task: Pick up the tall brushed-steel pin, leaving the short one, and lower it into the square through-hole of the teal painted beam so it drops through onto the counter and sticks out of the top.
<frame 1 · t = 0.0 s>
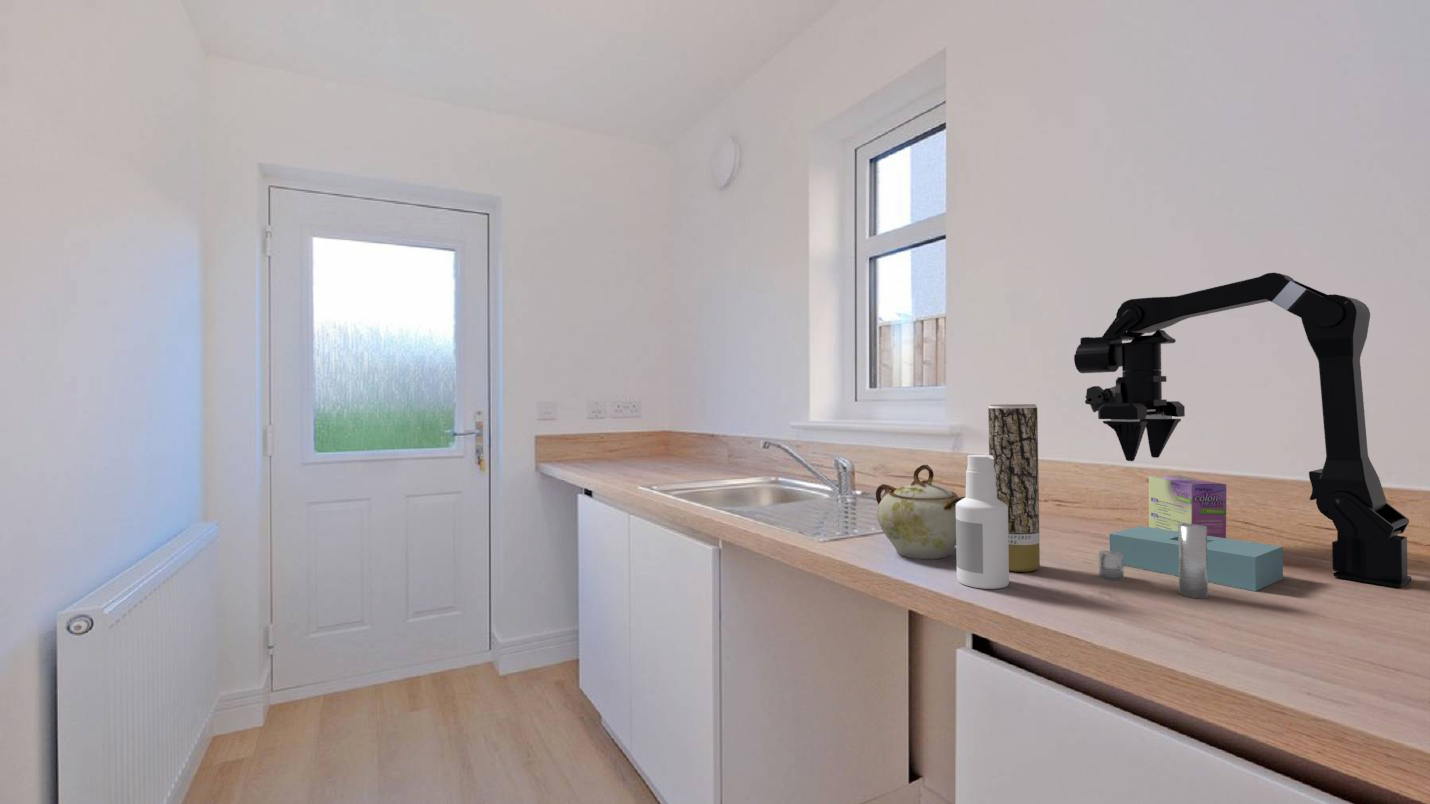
hand: (1142, 459, 111), 15 cm above the worktop, tool pointing down, fingers open, 9 cm apart
spray bottle: (982, 584, 89), on the worktop
short steel pin: (1111, 577, 90), on the worktop
sugar bowl: (923, 554, 106), on the worktop
hole beam: (1191, 570, 93), on the worktop
tall steel pin: (1193, 594, 82), on the worktop
box: (1186, 550, 105), on the worktop
paper tube: (1015, 568, 96), on the worktop
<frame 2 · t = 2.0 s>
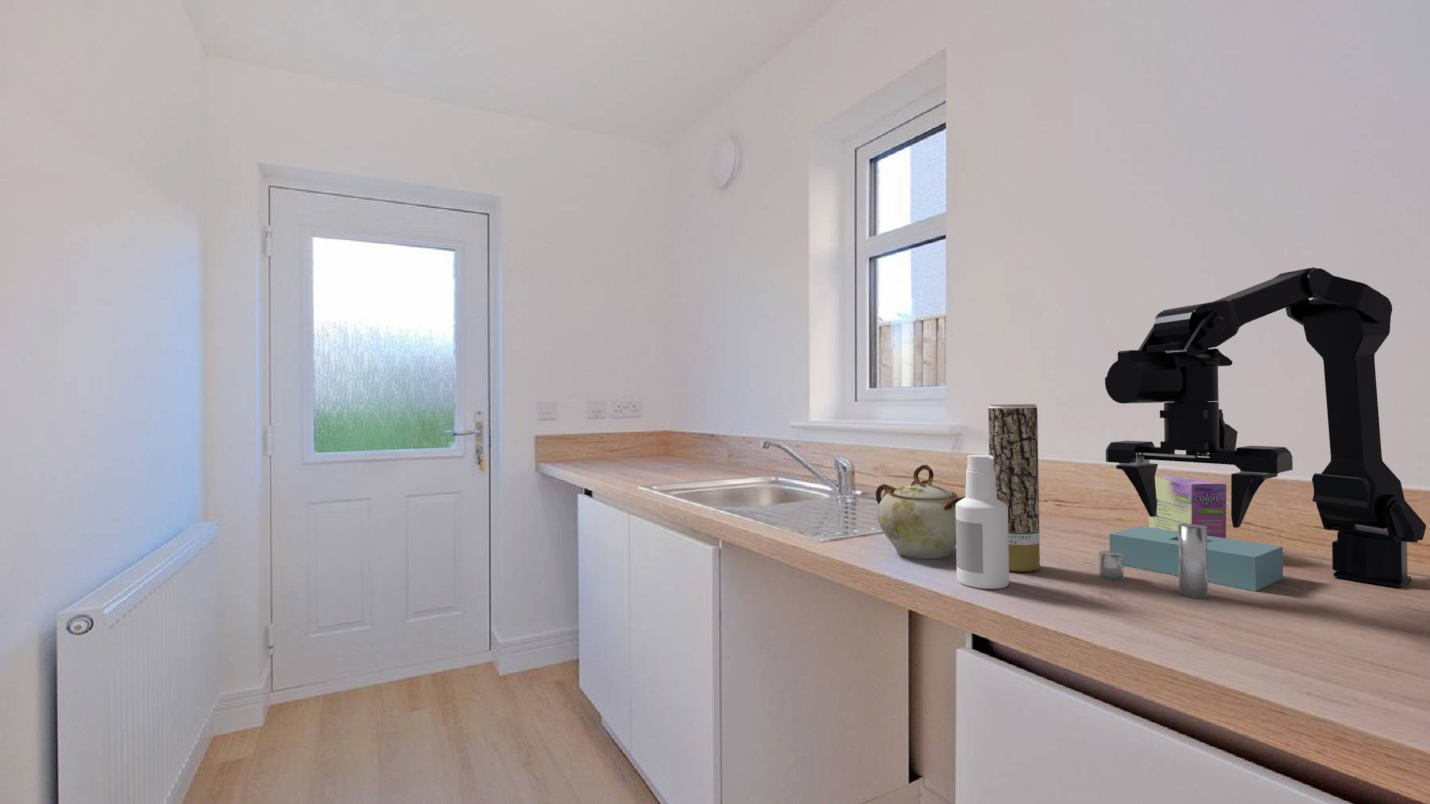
hand: (1192, 521, 82), 10 cm above the worktop, tool pointing down, fingers open, 9 cm apart
nothing on the worktop moved.
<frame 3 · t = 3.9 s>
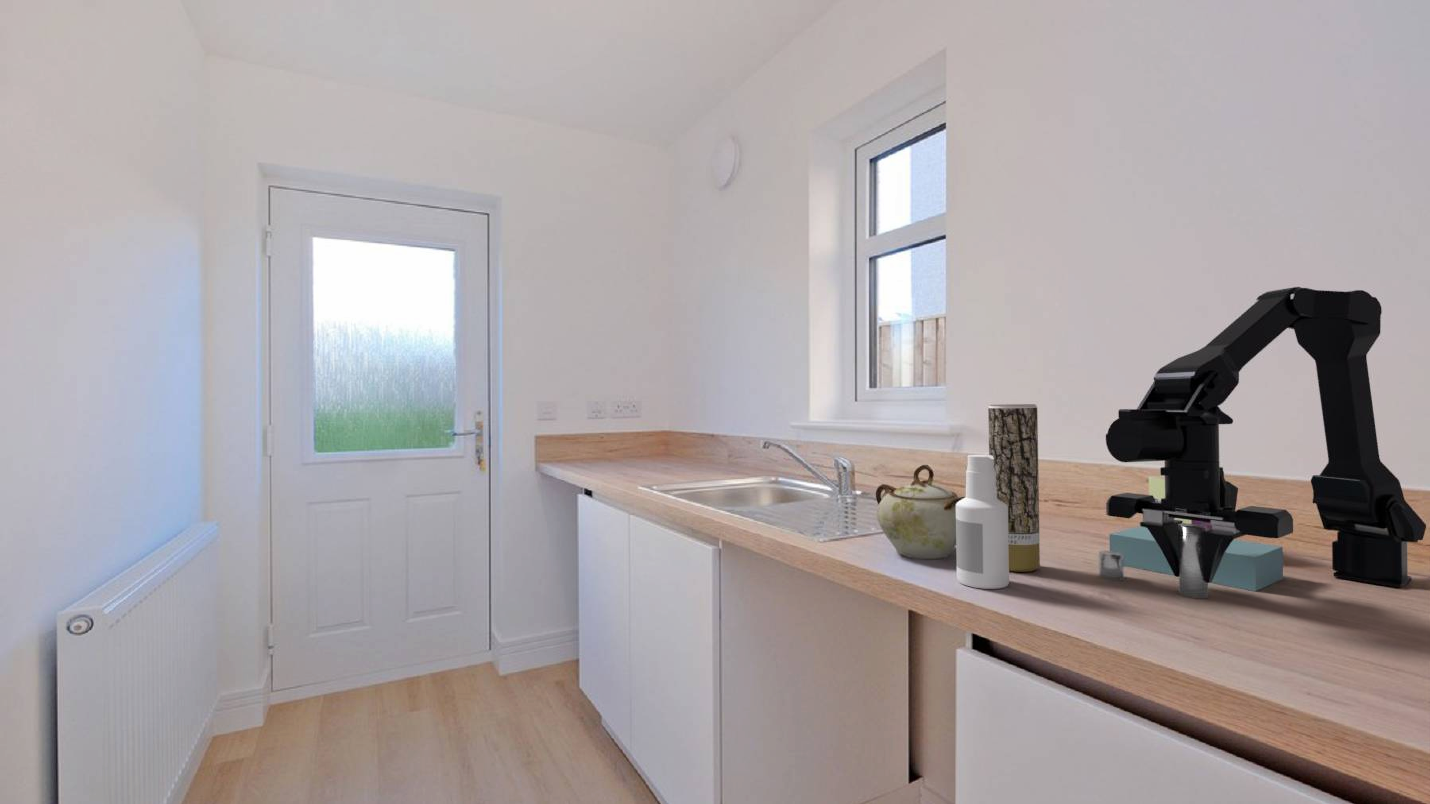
hand: (1193, 579, 82), 2 cm above the worktop, tool pointing down, fingers closed on tall steel pin, 3 cm apart
tall steel pin: (1193, 594, 82), on the worktop, touching gripper
everything else where it was.
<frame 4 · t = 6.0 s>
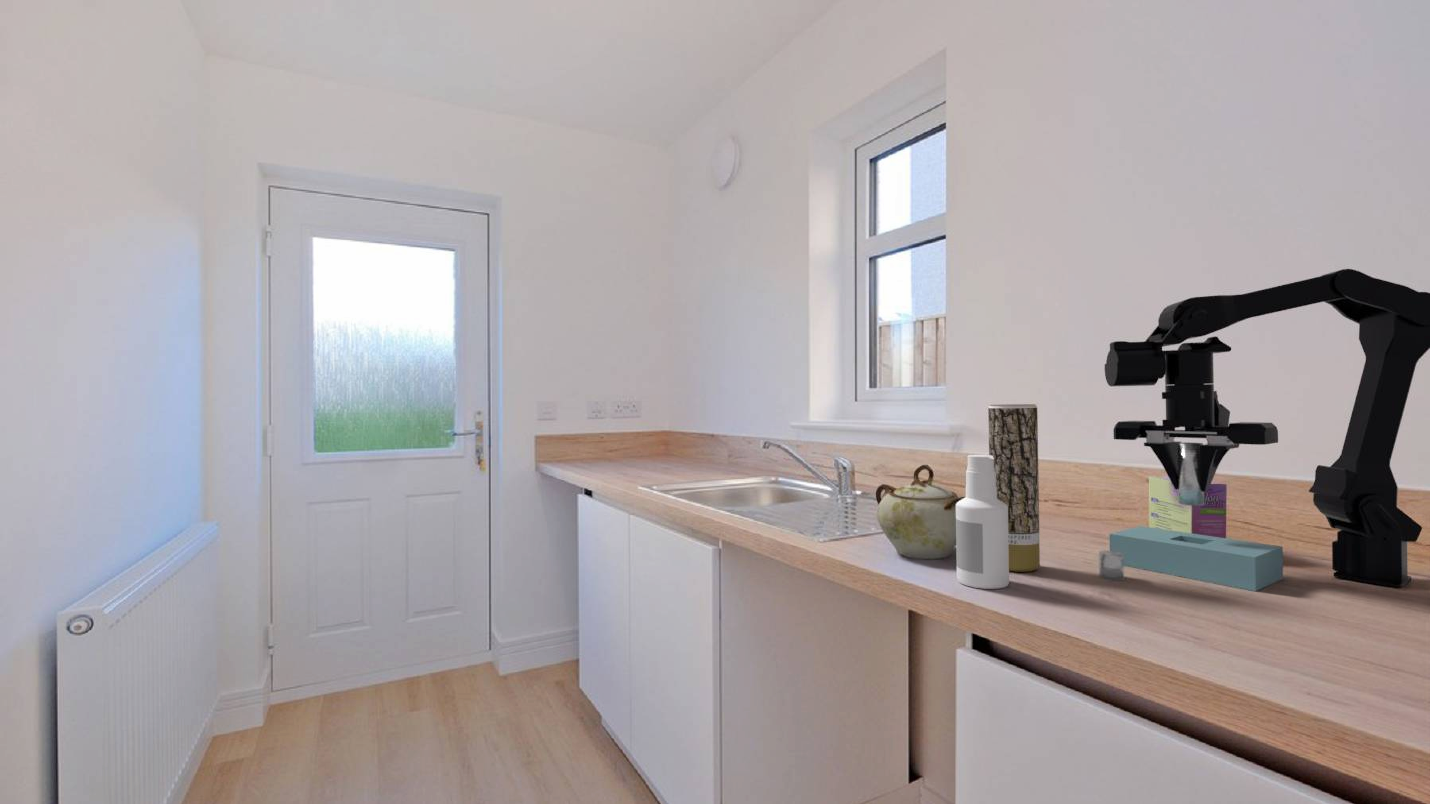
hand: (1191, 490, 92), 12 cm above the worktop, tool pointing down, fingers closed on tall steel pin, 3 cm apart
tall steel pin: (1191, 504, 92), point 10 cm above the worktop, touching gripper
everything else where it was.
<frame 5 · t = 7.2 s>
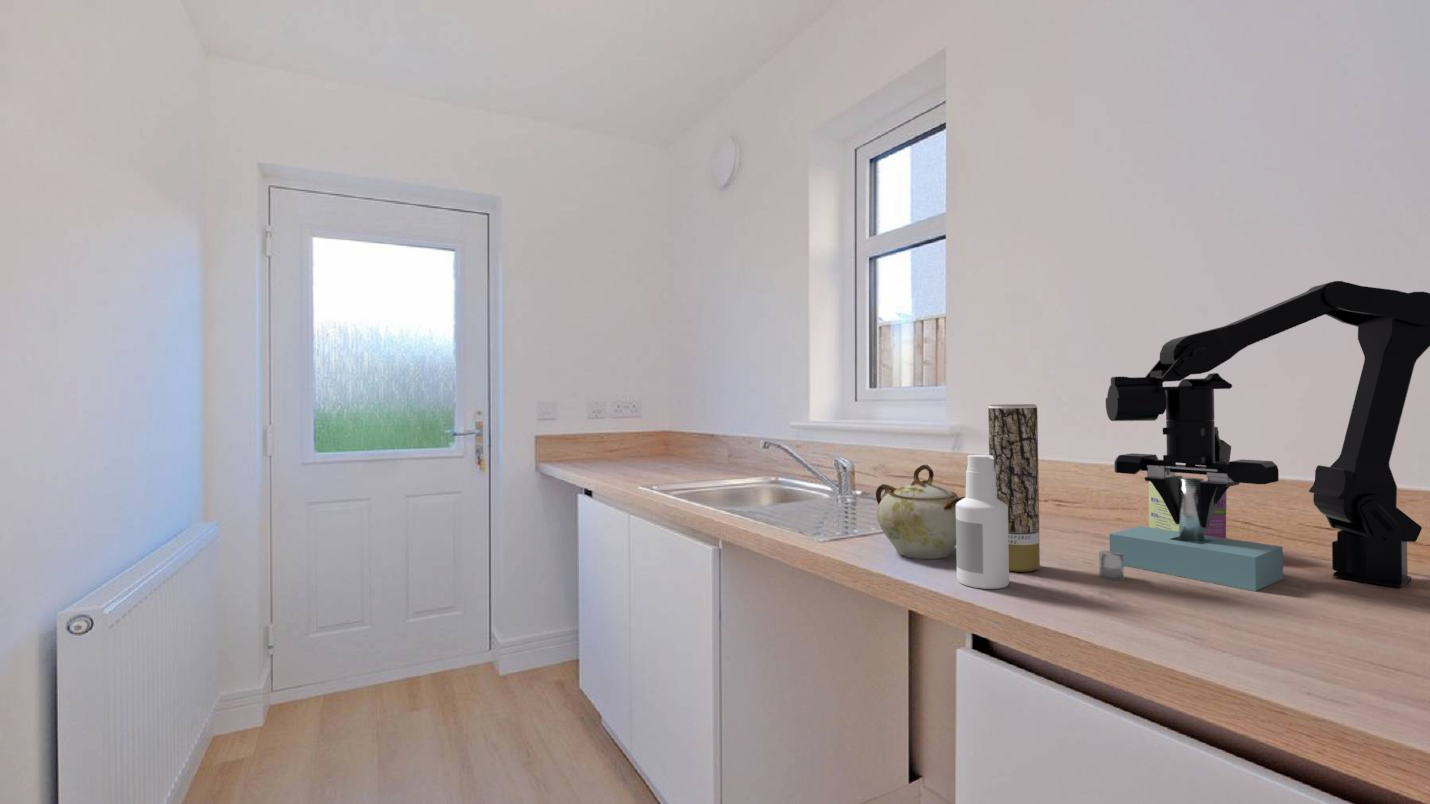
hand: (1191, 525, 93), 7 cm above the worktop, tool pointing down, fingers closed on tall steel pin, 3 cm apart
tall steel pin: (1191, 539, 93), point 5 cm above the worktop, touching gripper
everything else where it was.
when the fingers open (5 cm above the worktop, at t = 8.1 s): tall steel pin drops 3 cm, resting in hole beam.
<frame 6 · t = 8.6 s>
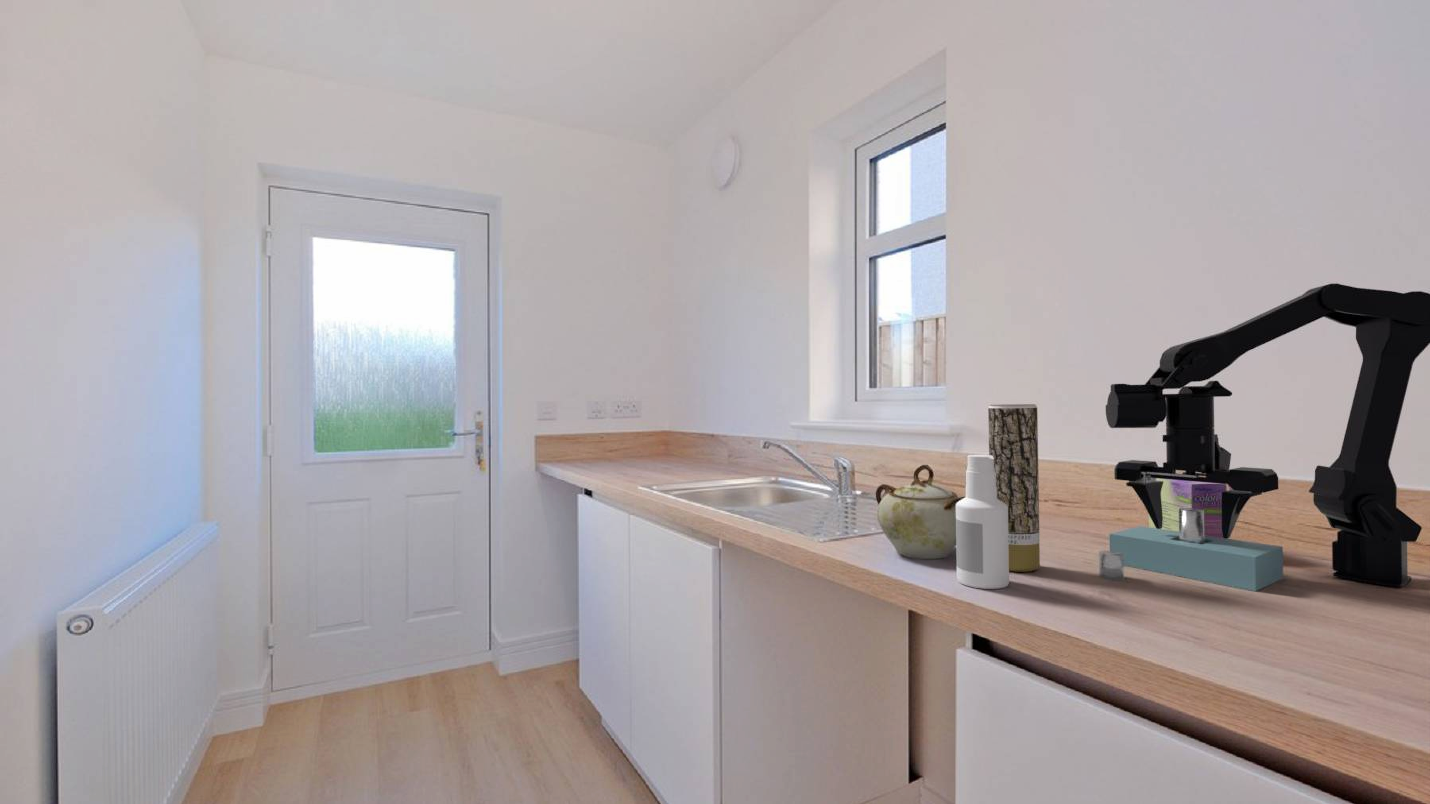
hand: (1191, 533, 93), 5 cm above the worktop, tool pointing down, fingers open, 8 cm apart
tall steel pin: (1192, 570, 93), resting in hole beam
everything else where it was.
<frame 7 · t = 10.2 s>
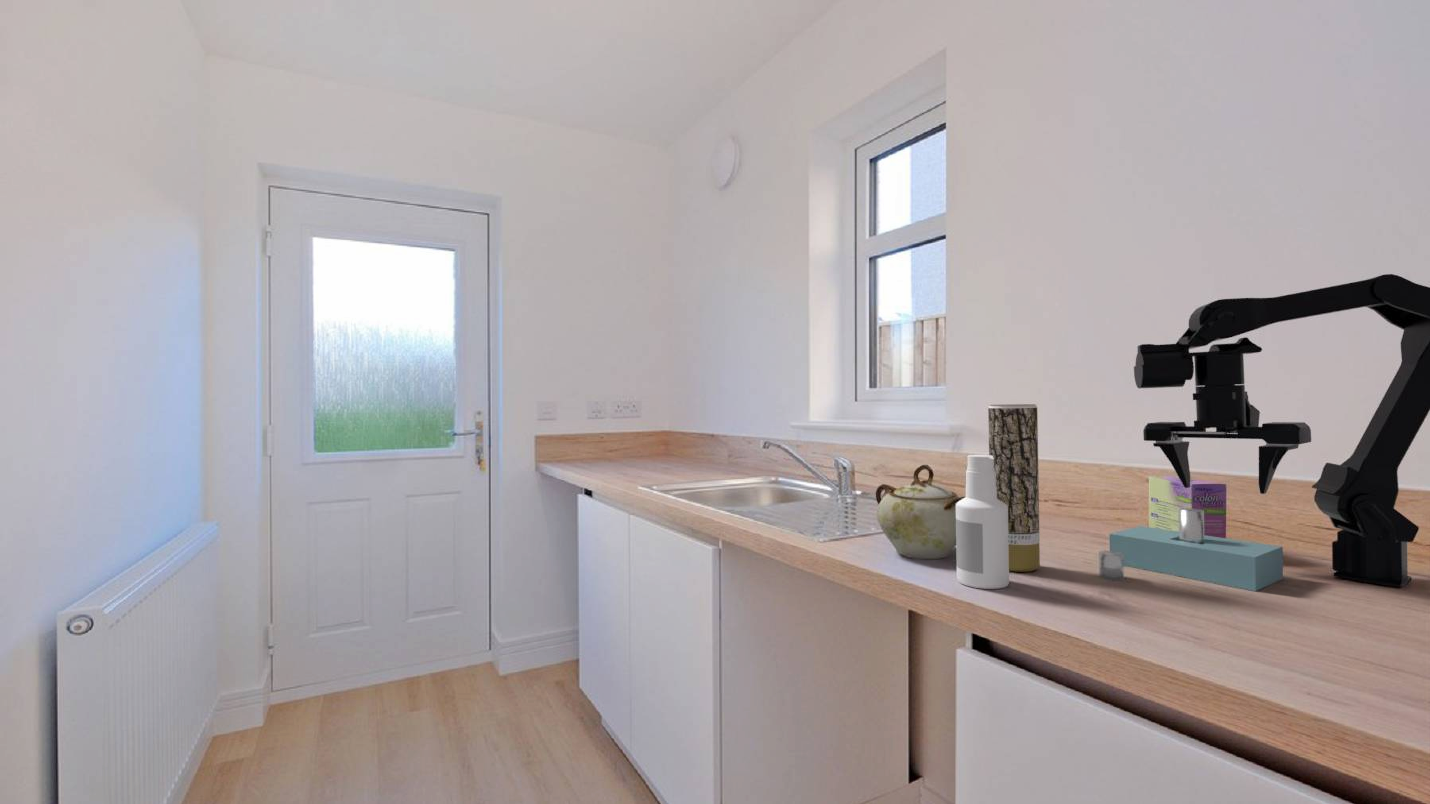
hand: (1223, 490, 93), 12 cm above the worktop, tool pointing down, fingers open, 9 cm apart
nothing on the worktop moved.
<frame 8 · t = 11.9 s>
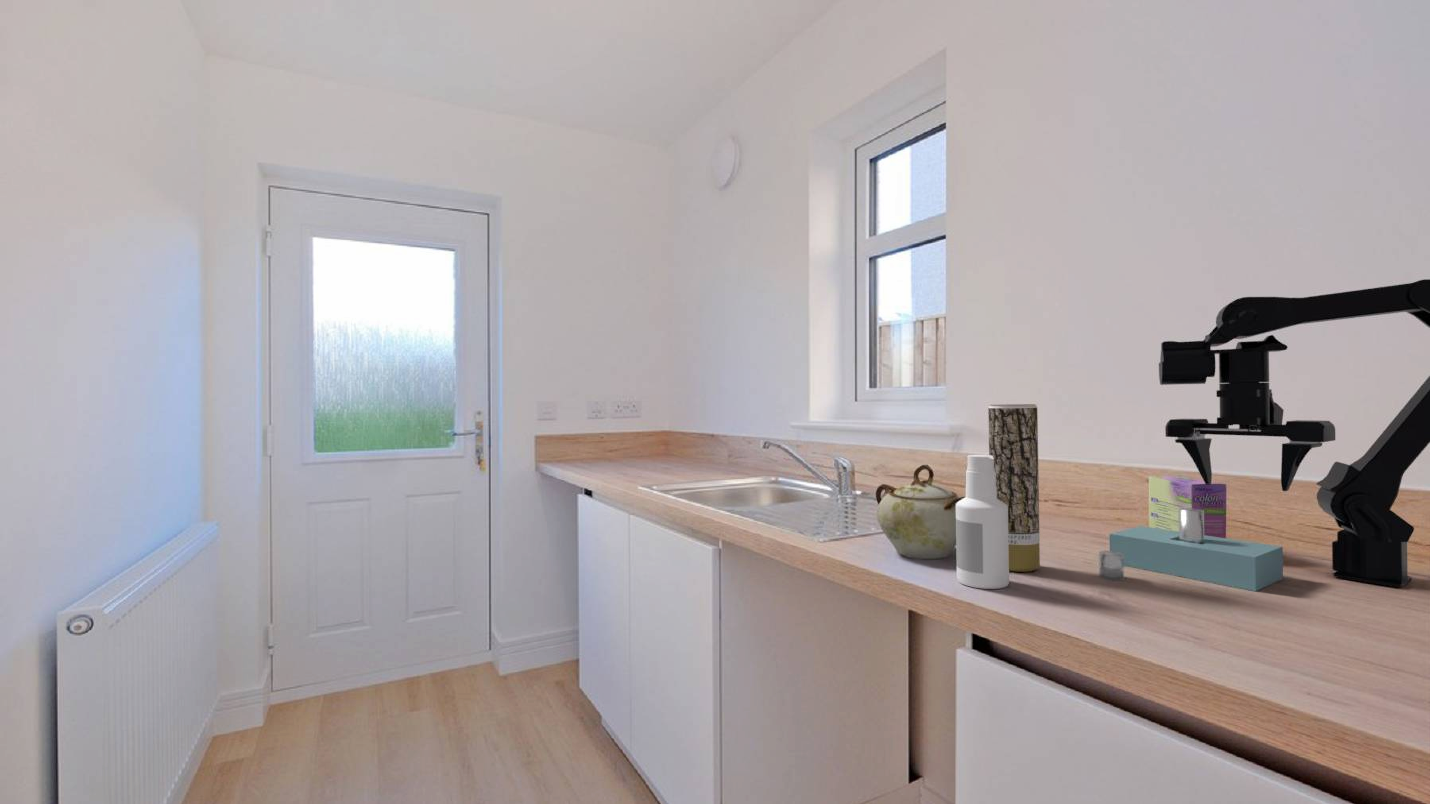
hand: (1245, 487, 94), 12 cm above the worktop, tool pointing down, fingers open, 9 cm apart
nothing on the worktop moved.
at the end: tall steel pin 0.0 cm from the hole beam (horizontally); tall steel pin resting in hole beam; short steel pin moved 0.1 cm from its start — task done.
